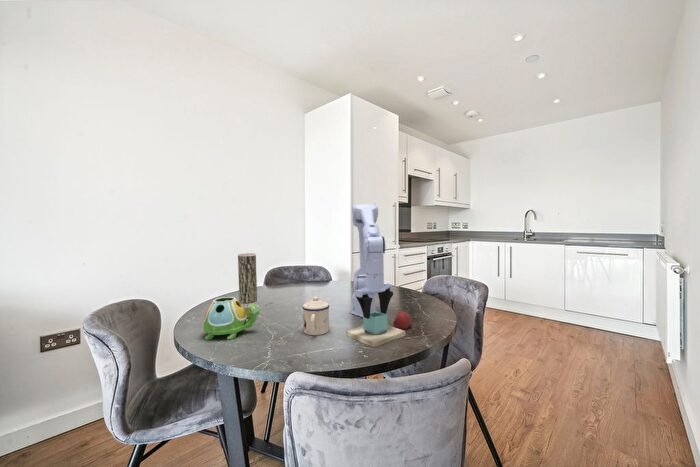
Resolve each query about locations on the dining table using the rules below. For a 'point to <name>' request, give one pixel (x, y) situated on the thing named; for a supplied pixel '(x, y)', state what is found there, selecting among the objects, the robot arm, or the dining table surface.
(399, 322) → the fruit
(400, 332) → the post base
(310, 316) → the teacup with lid
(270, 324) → the dining table surface
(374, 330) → the collar
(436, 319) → the dining table surface
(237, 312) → the turtle holder
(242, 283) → the bark log
